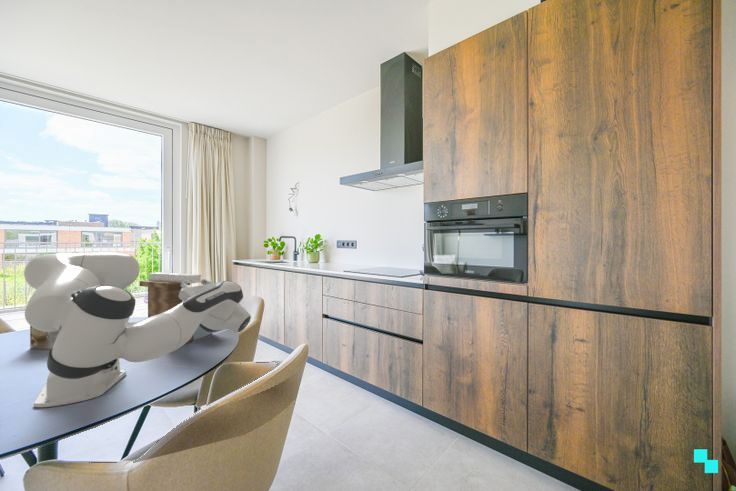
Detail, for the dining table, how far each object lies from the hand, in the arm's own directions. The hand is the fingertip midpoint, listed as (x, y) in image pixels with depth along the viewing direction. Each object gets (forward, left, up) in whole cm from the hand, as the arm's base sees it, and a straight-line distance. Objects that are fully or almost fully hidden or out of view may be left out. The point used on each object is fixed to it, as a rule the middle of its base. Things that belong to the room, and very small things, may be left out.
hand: (193, 282), depth 124 cm
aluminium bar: (+7, +7, 0) cm, 10 cm away
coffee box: (+24, +52, -26) cm, 63 cm away
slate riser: (+15, 0, -26) cm, 30 cm away
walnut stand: (+10, +11, -26) cm, 30 cm away
